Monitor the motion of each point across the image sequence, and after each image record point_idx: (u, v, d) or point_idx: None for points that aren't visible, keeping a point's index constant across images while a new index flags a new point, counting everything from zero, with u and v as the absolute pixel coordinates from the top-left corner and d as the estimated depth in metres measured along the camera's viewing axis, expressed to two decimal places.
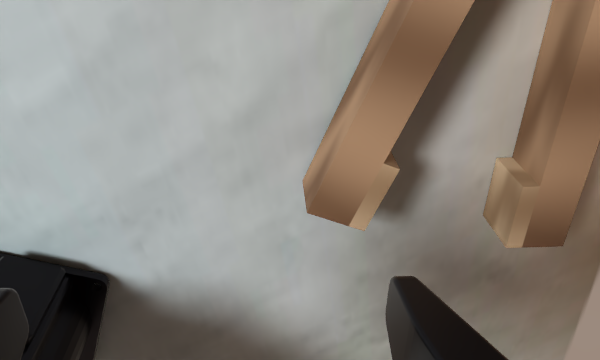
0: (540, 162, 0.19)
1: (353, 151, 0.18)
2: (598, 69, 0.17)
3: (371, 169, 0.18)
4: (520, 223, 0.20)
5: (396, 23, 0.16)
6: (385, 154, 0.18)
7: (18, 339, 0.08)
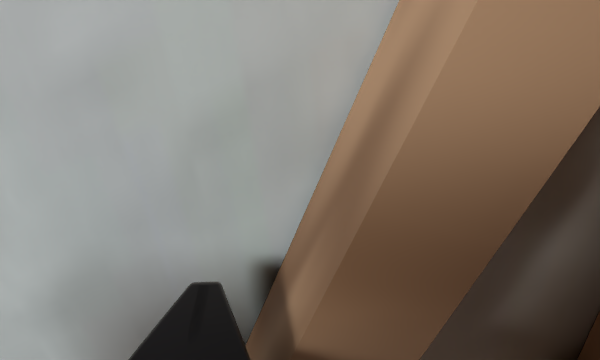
0: None
1: None
2: None
3: None
4: None
5: (352, 210, 0.06)
6: None
7: None
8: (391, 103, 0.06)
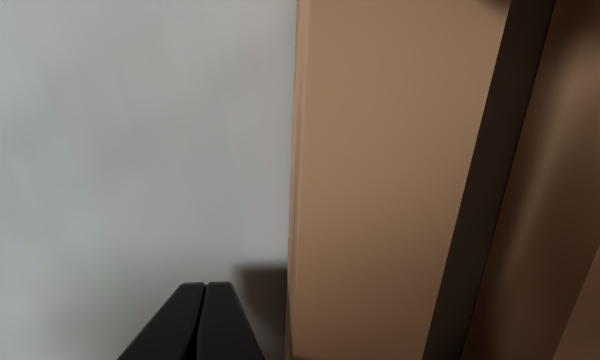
0: None
1: None
2: None
3: None
4: None
5: (293, 287, 0.07)
6: None
7: None
8: (296, 182, 0.06)
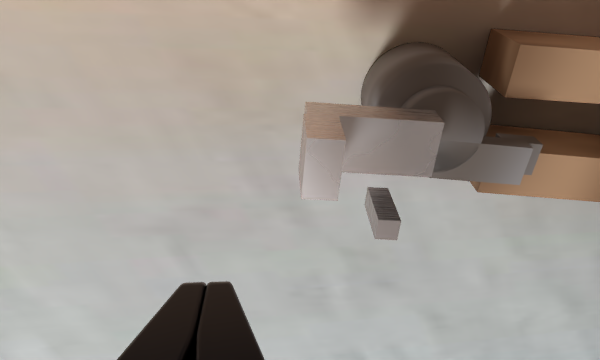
0: None
1: None
2: None
3: None
4: None
5: None
6: None
7: None
8: None
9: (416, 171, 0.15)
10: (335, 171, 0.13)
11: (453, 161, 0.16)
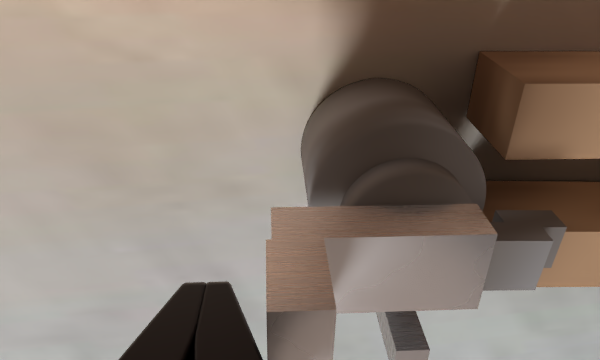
0: None
1: None
2: None
3: None
4: None
5: None
6: None
7: None
8: None
9: (453, 303, 0.09)
10: (322, 353, 0.07)
11: None
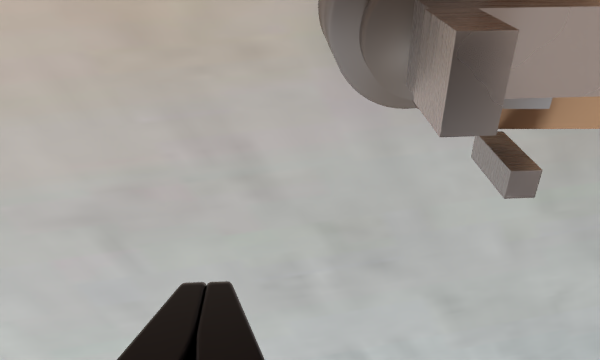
0: None
1: None
2: None
3: None
4: None
5: None
6: None
7: None
8: None
9: (586, 89, 0.10)
10: (497, 86, 0.08)
11: None
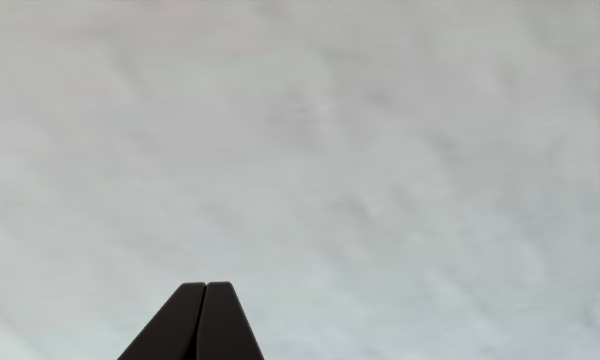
0: None
1: None
2: None
3: None
4: None
5: None
6: None
7: None
8: None
9: None
10: None
11: None
